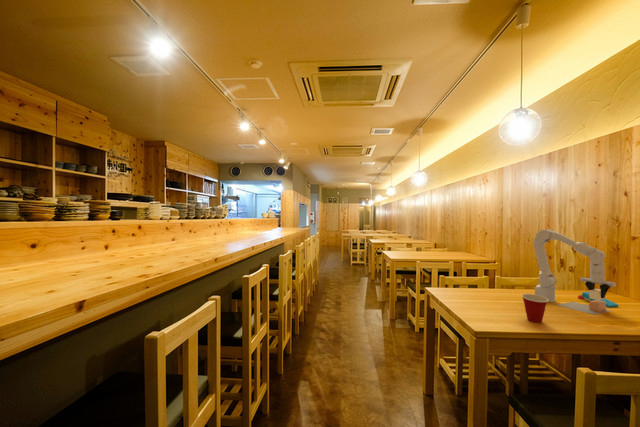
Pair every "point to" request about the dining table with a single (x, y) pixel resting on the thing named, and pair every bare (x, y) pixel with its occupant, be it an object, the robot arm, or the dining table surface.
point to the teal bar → (608, 303)
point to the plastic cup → (534, 307)
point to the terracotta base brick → (597, 305)
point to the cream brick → (595, 294)
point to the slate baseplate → (581, 308)
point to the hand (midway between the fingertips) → (597, 296)
